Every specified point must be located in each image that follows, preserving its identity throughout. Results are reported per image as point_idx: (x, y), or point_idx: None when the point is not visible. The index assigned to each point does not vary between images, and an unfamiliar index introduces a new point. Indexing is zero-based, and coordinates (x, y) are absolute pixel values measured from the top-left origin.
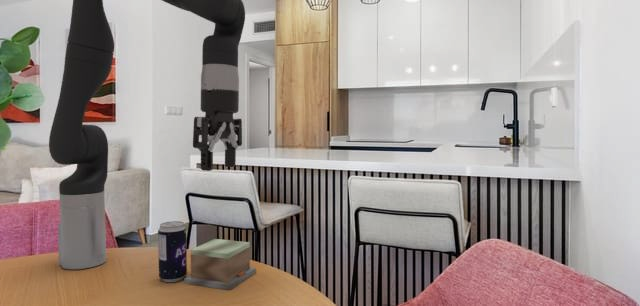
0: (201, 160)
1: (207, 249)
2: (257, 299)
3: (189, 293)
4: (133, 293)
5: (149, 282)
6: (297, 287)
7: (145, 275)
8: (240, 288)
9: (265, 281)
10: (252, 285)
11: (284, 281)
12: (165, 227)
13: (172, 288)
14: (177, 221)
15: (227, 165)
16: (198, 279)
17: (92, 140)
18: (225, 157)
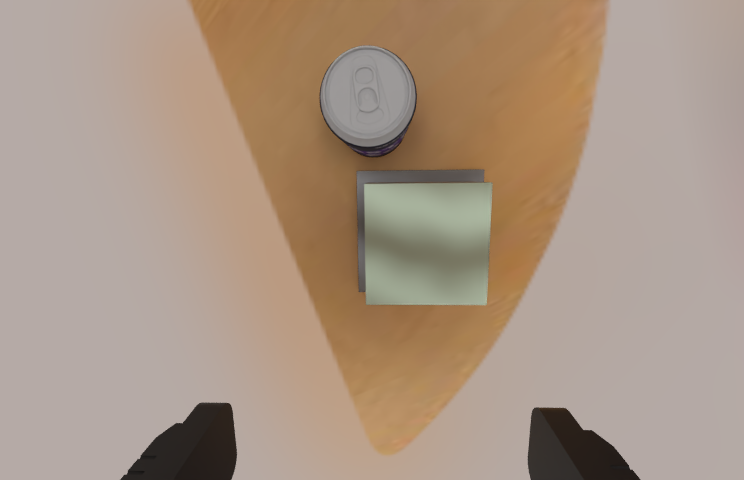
0: (130, 476)
1: (381, 230)
2: (339, 358)
3: (315, 219)
4: (269, 102)
5: None
6: (420, 404)
7: (368, 37)
8: None
9: (429, 333)
10: (399, 318)
11: (442, 369)
12: (324, 99)
13: (324, 165)
14: (408, 84)
15: (535, 428)
16: (363, 207)
17: None
18: (573, 465)
